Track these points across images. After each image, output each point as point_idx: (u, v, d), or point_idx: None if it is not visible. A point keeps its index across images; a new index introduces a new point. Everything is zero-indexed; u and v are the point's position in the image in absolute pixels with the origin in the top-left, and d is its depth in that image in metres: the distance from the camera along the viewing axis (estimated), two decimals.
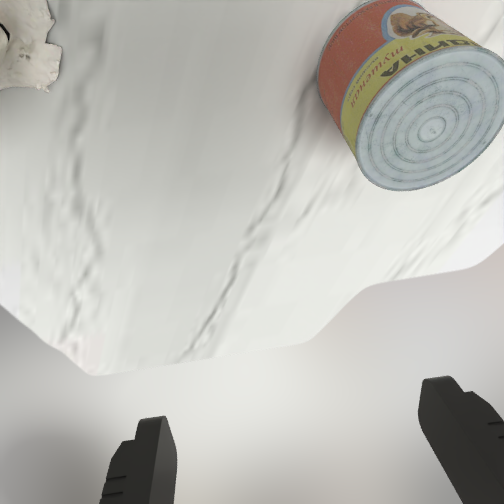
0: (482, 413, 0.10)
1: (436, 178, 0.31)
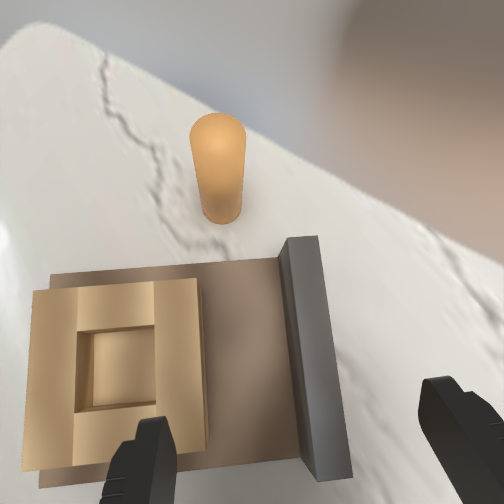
0: (482, 413, 0.10)
1: None
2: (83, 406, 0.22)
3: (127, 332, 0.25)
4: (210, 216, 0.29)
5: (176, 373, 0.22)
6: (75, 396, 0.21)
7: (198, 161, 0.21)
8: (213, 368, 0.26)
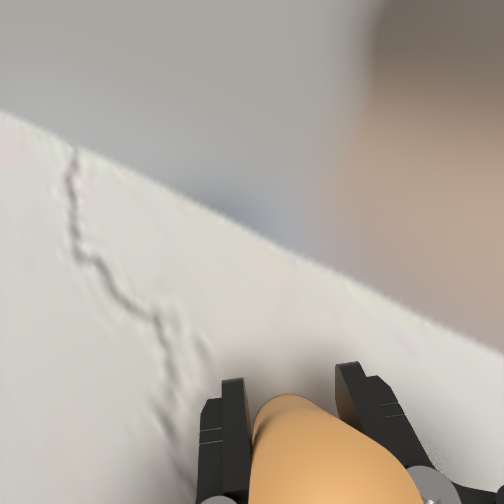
0: (380, 394, 0.11)
1: None
2: None
3: None
4: None
5: None
6: None
7: None
8: None
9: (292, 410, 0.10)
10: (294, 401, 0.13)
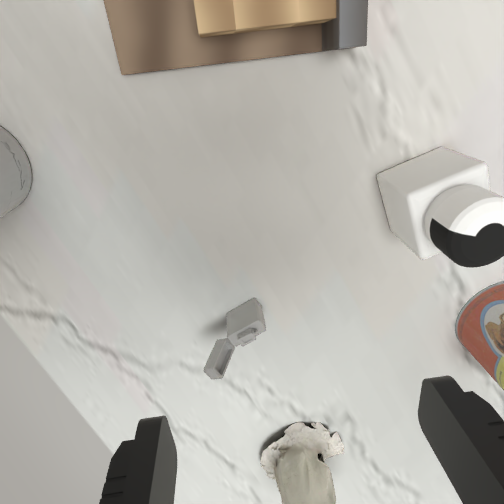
0: (482, 413, 0.10)
1: None
2: None
3: None
4: None
5: None
6: None
7: None
8: None
9: None
10: None
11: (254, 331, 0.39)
